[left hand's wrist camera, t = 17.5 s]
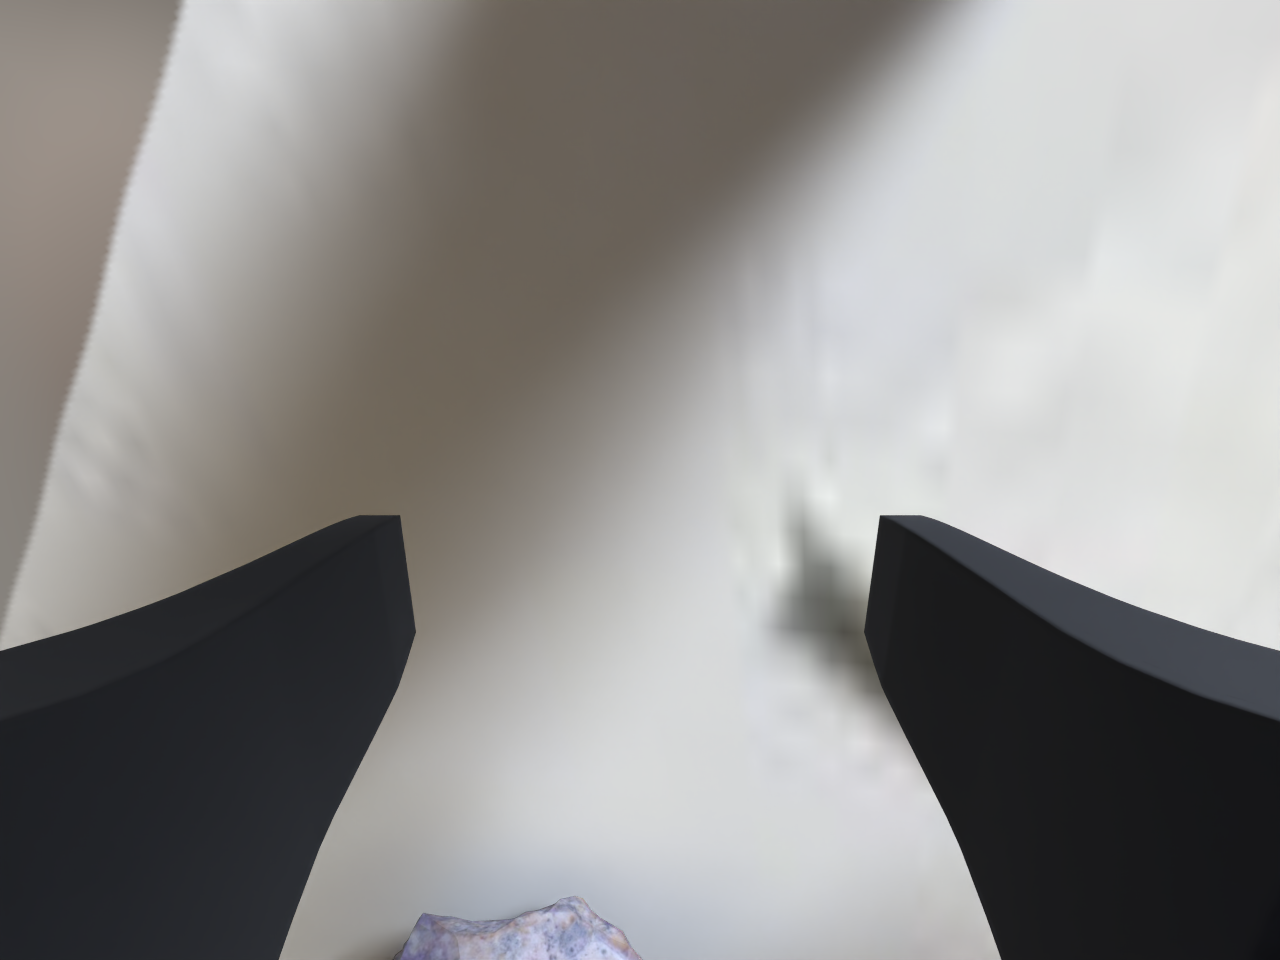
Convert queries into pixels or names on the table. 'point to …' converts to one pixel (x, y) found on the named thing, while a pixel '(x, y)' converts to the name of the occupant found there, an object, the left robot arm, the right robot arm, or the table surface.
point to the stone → (520, 937)
